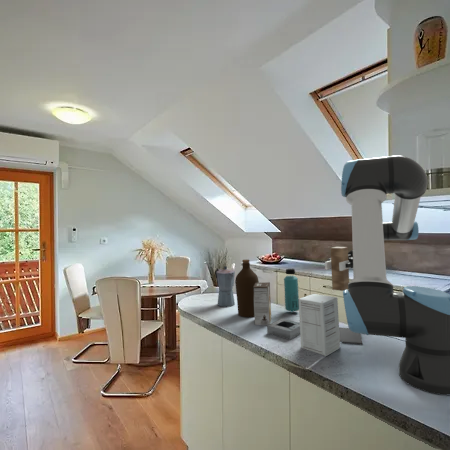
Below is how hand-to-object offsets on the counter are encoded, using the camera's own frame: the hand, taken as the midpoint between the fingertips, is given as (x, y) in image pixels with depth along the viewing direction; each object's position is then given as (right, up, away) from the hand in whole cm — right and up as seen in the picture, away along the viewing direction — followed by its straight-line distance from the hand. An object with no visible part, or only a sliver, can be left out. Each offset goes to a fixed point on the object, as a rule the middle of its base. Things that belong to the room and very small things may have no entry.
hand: (333, 266), depth 110 cm
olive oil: (-27, -27, +35) cm, 52 cm away
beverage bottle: (-7, -26, +35) cm, 44 cm away
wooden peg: (+4, -9, +4) cm, 10 cm away
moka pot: (-37, -27, +54) cm, 71 cm away
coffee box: (-21, -27, +23) cm, 41 cm away
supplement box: (-6, -27, -6) cm, 28 cm away
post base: (-15, -26, +9) cm, 31 cm away
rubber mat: (+5, -26, +4) cm, 26 cm away
